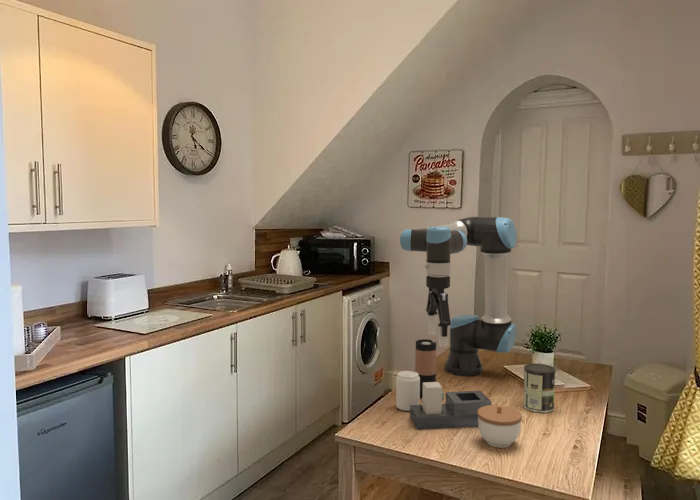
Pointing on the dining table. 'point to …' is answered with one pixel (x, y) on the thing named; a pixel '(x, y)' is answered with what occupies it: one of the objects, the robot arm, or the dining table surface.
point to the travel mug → (425, 362)
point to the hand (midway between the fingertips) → (437, 340)
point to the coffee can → (539, 388)
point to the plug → (432, 398)
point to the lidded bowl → (499, 425)
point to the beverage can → (407, 390)
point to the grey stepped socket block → (452, 411)
